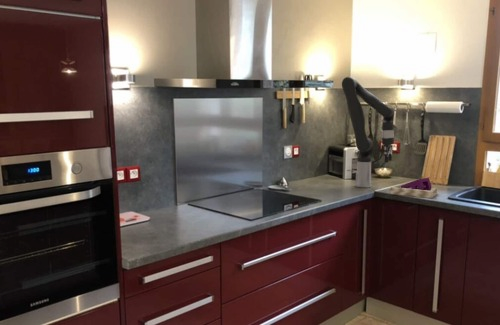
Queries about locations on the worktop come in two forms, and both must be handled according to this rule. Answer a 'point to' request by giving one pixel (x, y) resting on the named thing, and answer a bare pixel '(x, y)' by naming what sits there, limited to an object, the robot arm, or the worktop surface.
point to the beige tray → (414, 192)
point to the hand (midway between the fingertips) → (388, 161)
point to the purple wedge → (419, 184)
